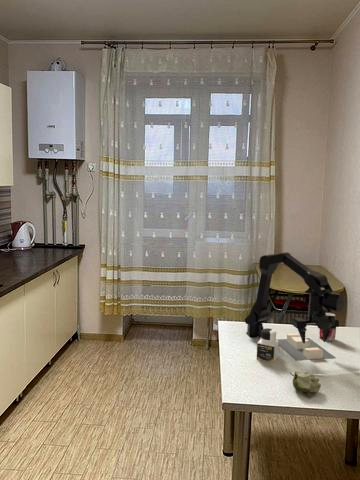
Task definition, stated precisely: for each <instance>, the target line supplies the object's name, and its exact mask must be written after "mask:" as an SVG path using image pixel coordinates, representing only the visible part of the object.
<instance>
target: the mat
mask: <svg viewBox="0 0 360 480" xmlns="http://www.w3.org/2000/svg"><path fill="white" fill-rule="evenodd" d="M305 338H306V339H307V340H308V341H310V347H318V348H319V349H321V350H322V351H323V357H322V359H321V360H328V359H329V360H331V359H337V357H336V356H334V355H333V354H332V353H331V352H329V351H327V350H326V349H325V348H324V347H322V346H321V345H320V344H318V343H316V341H314V340H313V339H311V338H310V337H305ZM276 340H278V341H279V347H280V348H281V349H282V350H283V351H284V352H285V353H286V354H287V355H289V356H290V357H291V358H292V359H293V360H294V361H295V362H300V361H313V360H314V361H315V360H318V359H308V358H307V357H306V356H304V355H303V349H296V348H295V347H294V346H292V345H291V344H290V343H289V342H288V341H287V338H281V339H278V338H276Z"/></svg>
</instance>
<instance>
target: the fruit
mask: <svg viewBox="0 0 360 480" xmlns="http://www.w3.org/2000/svg"><path fill="white" fill-rule="evenodd" d="M289 374H290V376H293V379H292V386H293V387H294V389H295V390H296V391H297V392H298V391H300V392H301V393H302V394H303V395H304V396H305V398H307V399H309V400H311V399H312V398H313V396H314V395H315V394H316V393H317V392H319V391H320V389H321V386H322V384H321V382H319V381H320V379H319V378H318V377H315V375H314V374H313V373H310V372H309V371H305V372H299V371H296V370H295V371H294V374H293V373H291V372H289Z"/></svg>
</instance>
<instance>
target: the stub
mask: <svg viewBox="0 0 360 480" xmlns="http://www.w3.org/2000/svg"><path fill="white" fill-rule="evenodd" d="M303 355H304V356H306V357H307V358H308V359H317V360H323V359H322V357H323V351H322V350H321V349H319V348H318V347H303Z"/></svg>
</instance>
